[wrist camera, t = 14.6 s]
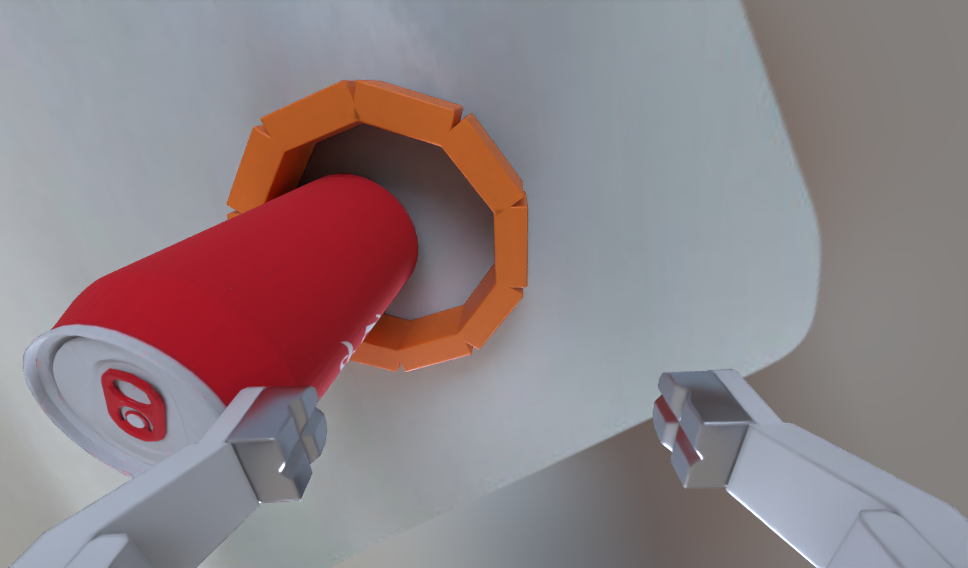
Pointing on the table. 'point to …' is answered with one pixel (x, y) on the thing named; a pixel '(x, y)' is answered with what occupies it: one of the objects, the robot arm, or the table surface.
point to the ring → (347, 104)
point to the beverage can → (222, 320)
